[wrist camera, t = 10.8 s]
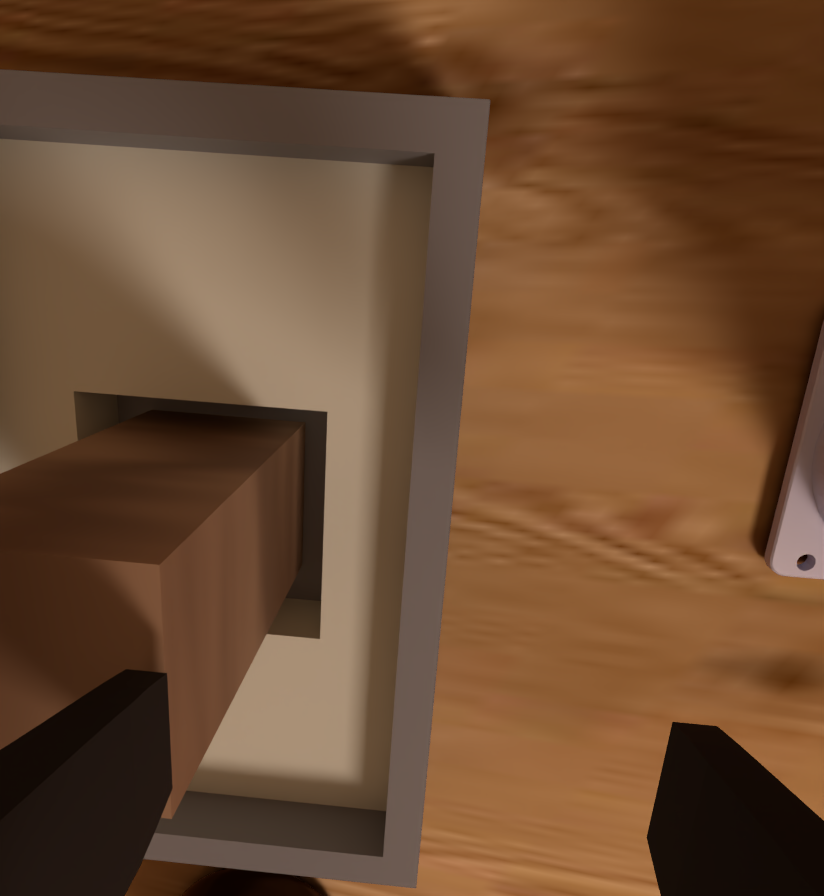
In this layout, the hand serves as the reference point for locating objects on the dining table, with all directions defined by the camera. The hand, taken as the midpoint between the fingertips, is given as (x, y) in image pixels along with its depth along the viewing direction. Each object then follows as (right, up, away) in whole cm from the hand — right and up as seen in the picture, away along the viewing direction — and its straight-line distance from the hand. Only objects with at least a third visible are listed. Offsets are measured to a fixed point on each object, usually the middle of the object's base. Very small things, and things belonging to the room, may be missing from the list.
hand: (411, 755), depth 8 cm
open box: (-5, +3, +10) cm, 12 cm away
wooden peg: (-5, +3, +9) cm, 11 cm away
